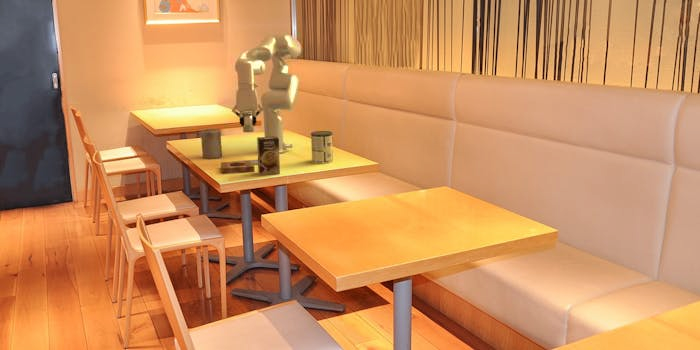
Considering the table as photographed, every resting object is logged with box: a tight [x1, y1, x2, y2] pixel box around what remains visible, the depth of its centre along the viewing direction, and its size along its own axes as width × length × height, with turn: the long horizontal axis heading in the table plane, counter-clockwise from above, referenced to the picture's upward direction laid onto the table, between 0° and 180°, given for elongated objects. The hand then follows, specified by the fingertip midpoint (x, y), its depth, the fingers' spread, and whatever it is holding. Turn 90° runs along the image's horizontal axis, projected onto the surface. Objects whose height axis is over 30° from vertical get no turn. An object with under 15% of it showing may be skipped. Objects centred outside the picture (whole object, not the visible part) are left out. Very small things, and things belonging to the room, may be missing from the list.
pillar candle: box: [200, 127, 223, 160], centre depth 319 cm, size 10×10×15 cm
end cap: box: [242, 111, 255, 133], centre depth 302 cm, size 6×6×9 cm
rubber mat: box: [242, 159, 258, 166], centre depth 306 cm, size 10×10×1 cm
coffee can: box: [310, 130, 334, 164], centre depth 306 cm, size 10×10×14 cm
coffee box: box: [256, 136, 281, 176], centre depth 282 cm, size 9×6×16 cm
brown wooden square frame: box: [220, 160, 255, 175], centre depth 292 cm, size 14×14×2 cm
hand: (248, 125), depth 302 cm, fingers closed on end cap, 5 cm apart
